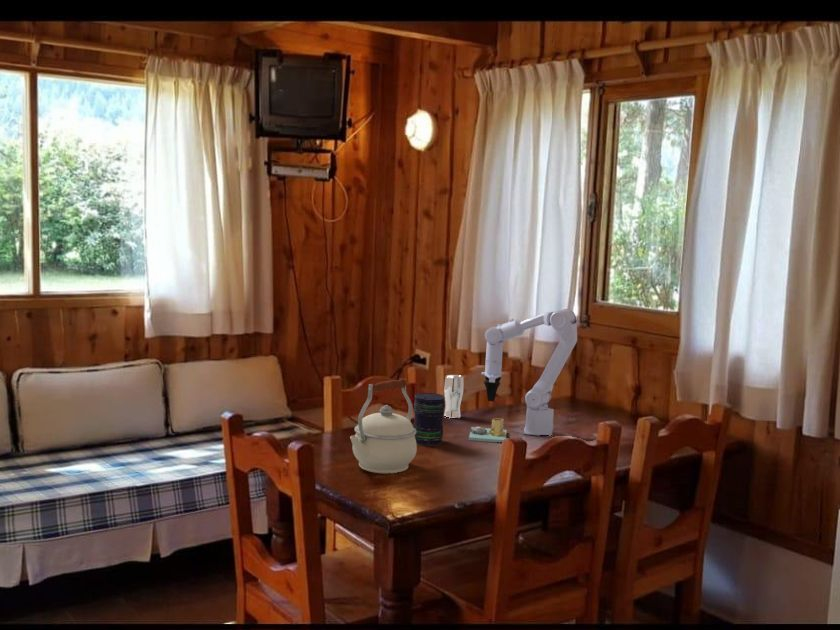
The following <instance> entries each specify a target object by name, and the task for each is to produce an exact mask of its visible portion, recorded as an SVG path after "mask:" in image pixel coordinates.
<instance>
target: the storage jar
mask: <svg viewBox="0 0 840 630" xmlns="http://www.w3.org/2000/svg"><path fill="white" fill-rule="evenodd" d="M445 407H446V404H445V395H443V394H439V393H435V392H420V393H419V392H418V393H416V394H414V402H413V413H414V417H413V418H414V421H413V423H412V425H413V428H415V429H416V434H415V435H414V436H415V439H416V444H417V445H420V446H427V447H435V446H439V445H441V444H443V436H444V424H443V423H444V413H445Z"/></svg>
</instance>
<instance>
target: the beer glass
mask: <svg viewBox="0 0 840 630" xmlns="http://www.w3.org/2000/svg"><path fill="white" fill-rule="evenodd" d="M444 378H445V379H444V387H443V388H444V389H443V391H444V396H445V400H444V401H445V404H444V405H445V408H444V414H443V417H444V416H446V417H449V418H448V419H450V418H458V419H460V418H461V416H462V415H461V402H462V399H463V393H464V387H465V386H464V385H465V384H464V376H463V375H459V374H447V375H445V377H444ZM446 417H445V418H446Z"/></svg>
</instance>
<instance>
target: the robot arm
mask: <svg viewBox="0 0 840 630" xmlns="http://www.w3.org/2000/svg"><path fill="white" fill-rule="evenodd" d="M542 325H545V326H548V327H550V326H551V327H552V328H553V329H554V330H555V333H557V336H558V338H559V342H558V344H557V346H556V347H555V349H554V352H553V353H552V354H551V355H552V356H551V357H550V359H549V361H548V363H547V365H546V367H545V368H544V370H543V372H541V373H542V374H541V375H540V377H539V379H538V380H537V382H535V384H534V385H533V387H532V389H530V390H529V391H527V392H526V394H525V396H524V400H525V401H524V402H525V404H526V411H525V412H526V415H525V425H524V426H525V427H523V434H524V435H529V436H531V435H532V436H540V435H549V436H548V437H552V436H553V431H554V414H555V413H554V411H555V410H554V409H553V408H549V403H550V401H551V398H552V392H553V390H554V385H555V382H556V380H557V378H558V377H559V375H560V373H561V371H562V369H563V368H564V365H565V364H566V362H567V361H568V359H569V357H570V355H571V353H572V351H573V349H574V348H575V346H576V344H577V343H578V318H577V316H576V314H575V312H574V311H573V310H572V309H569V308H564V309H561V310H554V311H547V312H543V313H541V314H539V315H536V316H532V317H530V318H528V319H525V320H523V321H522V320H519V319H518V318H517V319H514V318H511V319H509V321H508V322H504V323H497V326H491V327H489V328H488V329H487V330H486V331H485V333H484V339H485V341H486V351H485V364H484V365H485V366H484V368H485V369H484V371H482V372H481V375H482V376H485V377H484V378H485V380H483V384H484V386H485V389H486V390H485V391H486V396H487V397H486V398H487V402H495V401H496V400H495V399H496V395H497V392H498V391H497V390H498V389H499V386H500V385H501V379H502V367H503V352H504V350H503V348H504V342H505V341H508V340H512V339H514V338H517V337H519V336H522V335H523V334H524V332H525V331H526V330H528V329H531V328H535V327H538V326H542ZM550 434H551V435H552V436H551V435H550Z"/></svg>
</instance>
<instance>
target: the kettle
mask: <svg viewBox="0 0 840 630" xmlns="http://www.w3.org/2000/svg"><path fill="white" fill-rule="evenodd" d="M407 385H408V383H407V379H406V378H403V377H401V378H399V379H395V380H394V379H392V380H387V381H386V380H385V381H381V382H378V383H377V382H376V383H372V382H371V383H369V384H368V386H367V391H368V392H367V398H366V400H365V402H364V404H363V406H362V407H361V409H360V411H359V414H358V419H357V425H355V426H354V432H355V434H354V435H351V436H349V438H350V441H351V444H352V446H351V447H352V453H353V455H354V457H355V458H356V460H357V461H358V465H359V467H360V468H361V469H362V470H364V471H367V472H369V473H370V472H371V473H375V474H385V475H386V474H389V473H390V474H398V472H399V473H402V472H404V471H406V470H408V468H409V464H410V463H411V462H412V461H413V460H414V459H415V456H416V454H417V451H418V447H417V445H418V444H416V439H415V436H414V435H415V434H416V429H415V428H413V423H412V422H411V420H412V416H413V412H414V405H413V403H412V401H411V399H410V397H409V395H408V393H407ZM398 388H401V392H402V394H403V396H404V398H405V400H406V403H407V405H408V406H407V407H408V411H407V416H406V417H405V416H403V415H401V414H398V413H394V409H393V408H392V406H390V405H388V404H385V405H383V406H381V408H380V409H379V412H376V413H375V412H374V413H370V414H369V415H366V416H365V413H366V410H368V409H367V408H368V406H369V405H370V404H371V402H372V399H373V394H375V393H376V392H385V391H390V390H395V389H398Z"/></svg>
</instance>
